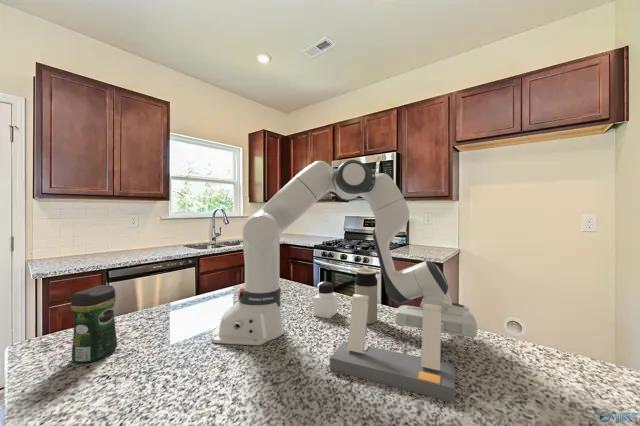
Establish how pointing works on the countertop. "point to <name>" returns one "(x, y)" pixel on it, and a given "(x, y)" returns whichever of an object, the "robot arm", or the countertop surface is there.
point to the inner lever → (358, 323)
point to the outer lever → (431, 336)
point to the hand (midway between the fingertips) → (431, 331)
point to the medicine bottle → (325, 301)
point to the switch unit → (396, 371)
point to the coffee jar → (93, 323)
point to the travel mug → (368, 291)
